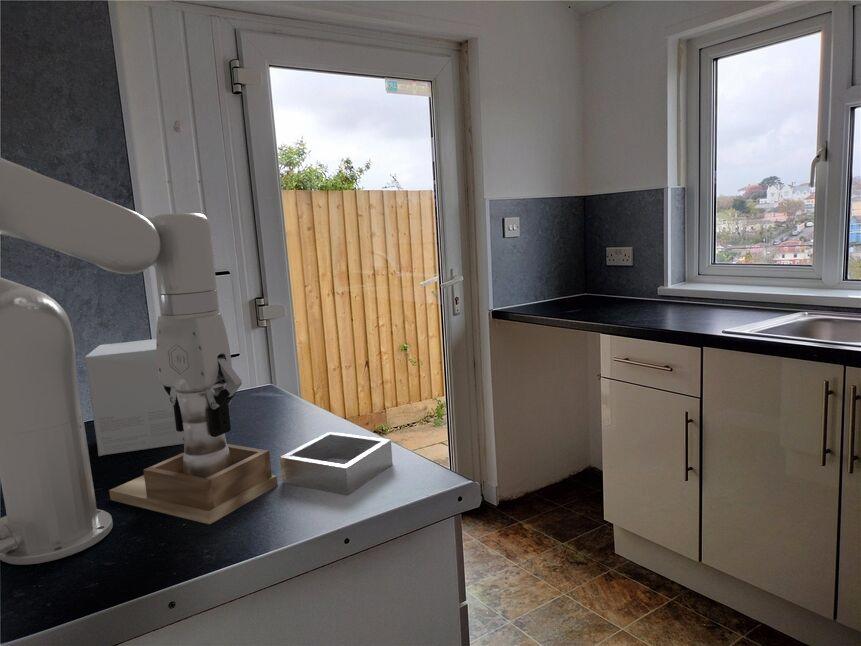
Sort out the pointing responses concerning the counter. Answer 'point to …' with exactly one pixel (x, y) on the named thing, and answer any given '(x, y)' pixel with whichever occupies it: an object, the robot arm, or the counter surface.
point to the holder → (315, 473)
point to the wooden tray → (200, 486)
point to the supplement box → (129, 399)
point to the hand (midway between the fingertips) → (203, 430)
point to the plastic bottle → (200, 434)
